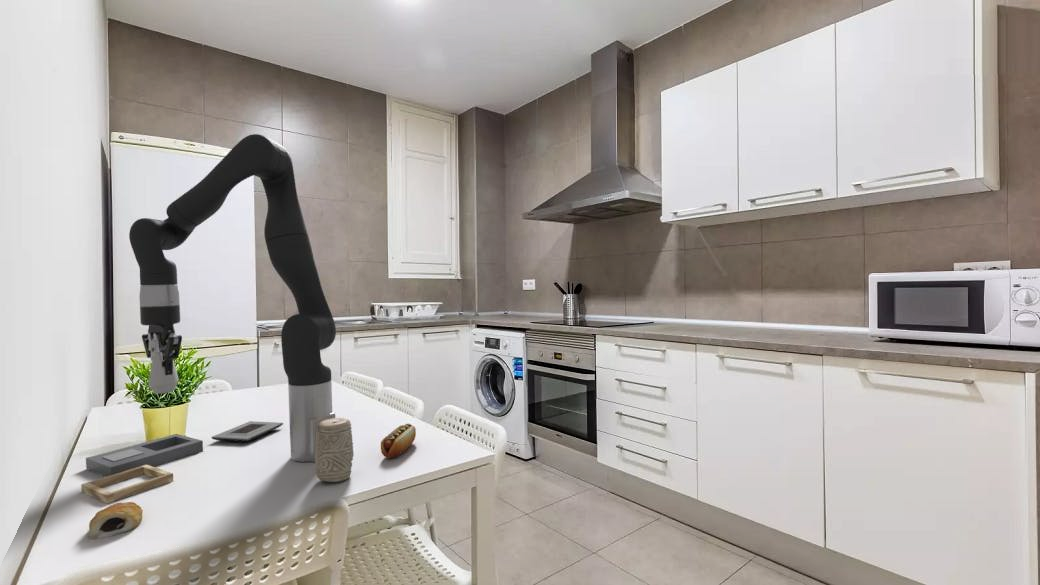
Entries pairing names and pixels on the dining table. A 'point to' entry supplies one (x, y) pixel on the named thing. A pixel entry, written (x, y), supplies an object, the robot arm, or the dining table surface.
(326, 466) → the carving
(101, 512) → the pastry
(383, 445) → the hot dog
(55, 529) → the dining table surface
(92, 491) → the wooden square frame
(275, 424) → the electrical outlet
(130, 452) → the grey rectangular frame
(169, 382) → the salt shaker
